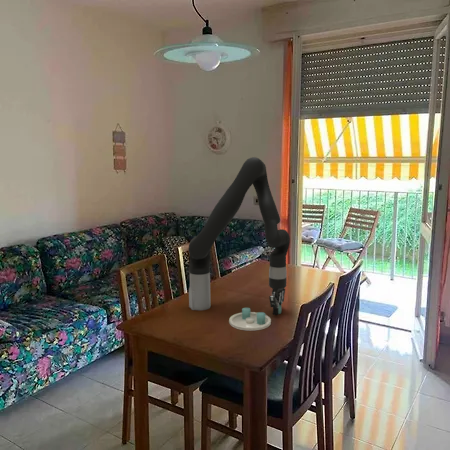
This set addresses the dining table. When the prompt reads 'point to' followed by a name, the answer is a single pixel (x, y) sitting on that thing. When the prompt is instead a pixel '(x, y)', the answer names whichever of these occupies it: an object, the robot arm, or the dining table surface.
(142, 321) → the dining table surface
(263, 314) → the bead
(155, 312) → the dining table surface
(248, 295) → the dining table surface
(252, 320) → the groove dish
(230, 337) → the dining table surface
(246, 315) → the bead
